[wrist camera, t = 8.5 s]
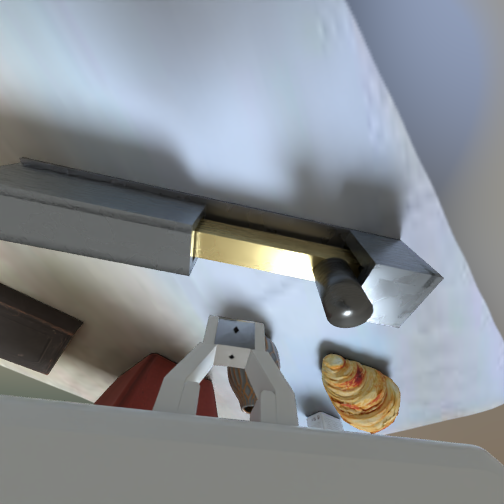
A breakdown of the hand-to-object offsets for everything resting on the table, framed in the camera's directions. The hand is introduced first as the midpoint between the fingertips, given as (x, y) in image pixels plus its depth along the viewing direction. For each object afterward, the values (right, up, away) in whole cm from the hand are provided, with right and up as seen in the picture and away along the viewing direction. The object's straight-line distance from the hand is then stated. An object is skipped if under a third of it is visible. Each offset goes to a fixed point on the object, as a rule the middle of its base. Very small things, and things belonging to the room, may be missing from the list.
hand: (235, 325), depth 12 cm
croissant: (+19, -17, +24) cm, 35 cm away
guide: (-2, +6, +10) cm, 12 cm away
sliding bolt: (+2, +5, +9) cm, 11 cm away
